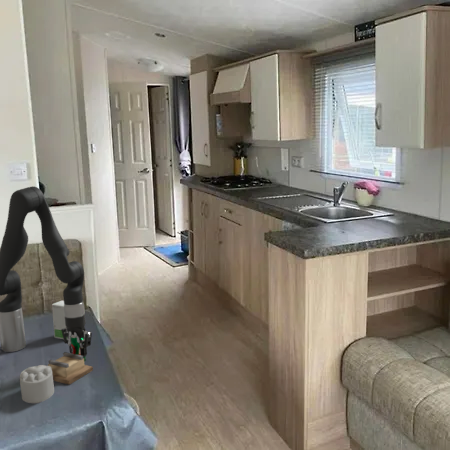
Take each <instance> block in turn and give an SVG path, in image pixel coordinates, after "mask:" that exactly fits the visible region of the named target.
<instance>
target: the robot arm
mask: <svg viewBox="0 0 450 450" xmlns="http://www.w3.org/2000/svg"><path fill="white" fill-rule="evenodd" d="M33 212H35V213H36V215H37V216H38V218H39V221H40V227H41V240H42V244H43V246H44V248H45V250H46V252H47V253H48V255H49V256H50V258H51V262H52V265H53V266H52V267H53V268H54V272H55V275H56V277H57V279H58V280H60V282H62V283H63V284H67V285H66V287H65V288H64V289H63V292H62V296H63V297H62V298H63V301H64V315H65V326H66V327H65V328H63V329H61V331H62V335H63V339H62V340H63V342H64V344H67V346H68V350H69V353H72V350H71V340H70V336H71V334H74V335H75V337H76V338H77V342H78V343H79V344H80V347H81V356H83V357H85V356H86V357H87V355H88V347H90V346H91V345H92V337H93V336H92V334H93V333H92V331H87V330H86V328H85V327H86V323H87V322H86V313H85V304H84V296H83V287H84V286H83V285H84V279H85V270H84V267H83V265H82V264H81V263H80V262H79V261H76V260H73V261H70V262H69V260H68V256H69V255H70V250H69V247H68V246H67V244H66V242H65V241H64V239H63V237H62V236H61V234H60V232H59V230H58V228H57V226H56V222H55V220H54V217H53V215H52V211H51V210H50V207H49V204H48V202H47V199H46V197H45V195H44V193H43V191H42V190H41V189H40V188H39V187H38V186H29V187H24V188H21V189H16V190H15V191H13V193H12V194H11V196H10V199H9V205H8V213H7V220H6V226H5V229H4V233H3V236H2V241H1V245H0V297H1V296H5V297H4V298H3V299H2V300H1V301H0V349H1V350H2V351H3V352H5V353H12V352H17V351H21V350H23V349H25V348H26V347H27V341H26V334H25V325H24V316H23V315H24V314H23V309H22V302H23V293H22V282H21V281H22V280H21V277H20V275H19V272H17V271H16V270H14V269H13V268H14V267H15V265H17V264H18V263H19V261H20V260H22V258H23V257H24V256H25V253H26V251H27V247H28V243H29V235H28V233H27V231H26V229H25V227H24V225H25V220H26V217H27V215H29V214H30V213H33ZM12 269H13V270H12ZM66 337H67V338H68V340H67V338H66ZM83 337H84V338H83ZM81 338H83V339H82V340H80V339H81ZM82 342H83V343H84V344H83V343H82Z"/></svg>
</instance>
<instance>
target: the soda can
mask: <svg viewBox="0 0 450 450" xmlns="http://www.w3.org/2000/svg"><path fill="white" fill-rule="evenodd" d="M83 338H84V337H83ZM83 338H81V339H80V340H82V339H83ZM70 340H71V350H72V354H77V355H81V347H80V344H79V343H78V342H77V338H76V337H75V335H74V334H71V336H70ZM82 343H83V342H82ZM83 344H84V343H83ZM83 358H84V363H85V362H86V361H87V355H86V356H85V357H83Z"/></svg>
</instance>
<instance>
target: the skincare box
mask: <svg viewBox="0 0 450 450" xmlns="http://www.w3.org/2000/svg"><path fill="white" fill-rule="evenodd" d="M51 306H52V307H51V308H52V321H53V322H52V325H53V336H54V337H53V338H55V339H59V340H64V339H63V335H62V331H61V329H63V328H65V327H66V326H65V315H64V300H60V301H57V302H54V303H52V304H51ZM66 338H67V337H66ZM67 340H68V338H67Z"/></svg>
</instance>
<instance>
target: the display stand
mask: <svg viewBox="0 0 450 450" xmlns="http://www.w3.org/2000/svg"><path fill="white" fill-rule="evenodd" d="M62 354H63V355H62V356H61V357H59V358H57V359H50V360H47V361H48V363H47V366H50V367H51V369H52V375H53V382H56V383H61V384H64V385H65V384H66V385H69V386H70V385H72V384H73V383H76V382H77V381H78V380H80V379H81V378H84V377H85V376H86V375H88V374H89V373H92V372H93V371H94V366H91V365H88V364H85V362H84V358H83V356H81V355H77V354H72V353H70V352H67V351H64V352H63V353H62ZM84 375H85V376H84Z"/></svg>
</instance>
